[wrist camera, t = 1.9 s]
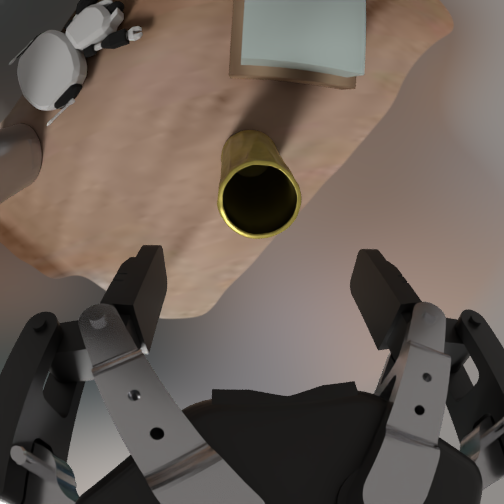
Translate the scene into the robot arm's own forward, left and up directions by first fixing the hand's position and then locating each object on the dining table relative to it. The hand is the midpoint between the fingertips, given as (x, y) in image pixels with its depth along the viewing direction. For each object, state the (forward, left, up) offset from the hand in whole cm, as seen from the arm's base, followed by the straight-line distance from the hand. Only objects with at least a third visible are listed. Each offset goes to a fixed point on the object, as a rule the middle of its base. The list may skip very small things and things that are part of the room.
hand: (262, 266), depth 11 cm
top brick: (+4, +15, -17) cm, 23 cm away
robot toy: (-20, +15, -21) cm, 33 cm away
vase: (0, 0, -21) cm, 21 cm away
